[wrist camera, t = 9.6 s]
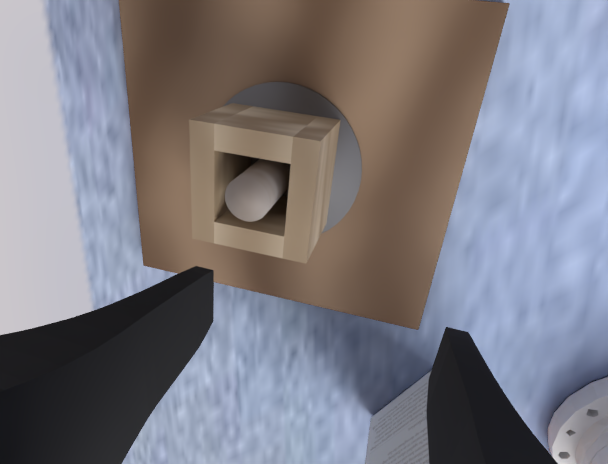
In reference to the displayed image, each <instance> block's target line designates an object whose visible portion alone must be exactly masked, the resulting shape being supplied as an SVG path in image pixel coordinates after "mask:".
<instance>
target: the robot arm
mask: <svg viewBox="0 0 608 464" xmlns="http://www.w3.org/2000/svg"><path fill="white" fill-rule="evenodd" d="M213 288H214V270H211V269H207V268H203V267H199V266H195V267H192V268H190V269H187V270H185V271H183V272H181V273H179V274H177V275H175V276H173V277H171V278H169V279H166V280H164V281H162V282H160V283H158V284H156V285H154V286H152V287H150V288H147V289H145V290H143V291H141V292H139V293H136V294H134V295H132V296H129V297H127V298H125V299H122V300H120V301H117V302H115V303H113V304H110V305H108V306H105V307H102V308H100V309H97V310H94V311H91V312H88V313H85V314H82V315H80V316H76V317H74V318H70V319H67V320H63V321H59V322H56V323H51V324H48V325H44V326H40V327H36V328H33V329H28V330H24V331H19V332H14V333H9V334H4V335H0V464H122V462H123V460H124V458H125V457H126V455H127V453H128V451H129V450H130V448H131V446H132V444H133V443H134V441H135V439H136V437H137V436H138V434H139V432H140V431H141V429H142V427H143V426H144V424H145V422H146V421H147V419H148V417H149V416H150V414H151V413H152V411H153V410H154V408H155V407H156V405H157V404H158V403H159V401H160V400H161V398H162V397H163V396H164V394H165V393H166V392H167V390H168V389H169V388H170V386H171V385H172V384H173V382H174V381H175V380H176V378H177V377H178V376H179V374H180V373H181V372H182V370H183V369H184V367H185V366H186V365H187V363H188V362H189V361H190V359H191V358H192V356H193V355H194V354H195V352H196V351H197V349H198V348H199V346H200V345H201V343H202V341H203V339H204V338H205V336H206V334H207V332H208V330H209V328H210V326H211V324H212V323H213ZM426 412H427V432H428V449H429V464H558V463H557V462H556V461H555V460H554V458H553V457H552V456H551V455H550V454H549V453H548V451H547V450H546V449H545V448H544V446H543V445H542V444H541V443H540V442H539V440H538V439H537V438H536V437H535V436H534V434H533V433H532V432H531V430H530V429H529V428H528V427H527V425H526V424H525V423H524V421H523V420H522V418H521V417H520V416H519V414H518V413H517V411H516V410H515V409H514V407H513V406H512V404H511V403H510V401H509V400H508V398H507V397H506V395H505V394H504V392H503V390H502V389H501V387H500V386H499V384H498V383H497V381H496V379H495V378H494V376H493V374H492V373H491V371H490V369H489V368H488V366H487V364H486V363H485V361H484V359H483V357H482V356H481V354H480V352H479V350H478V348H477V347H476V345H475V343H474V341H473V339H472V338H471V336H470V334H469V333H468V332H465V331H461V330H456V329H452V328H448V327H446V329H445V332H444V335H443V338H442V341H441V344H440V347H439V350H438V353H437V356H436V359H435V362H434V365H433V368H432V371H431V374H430V377H429V381H428V395H427V411H426Z"/></svg>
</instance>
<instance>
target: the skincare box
mask: <svg viewBox="0 0 608 464" xmlns="http://www.w3.org/2000/svg"><path fill="white" fill-rule="evenodd" d="M431 371H432V370H431ZM431 371H430V372H428V373H427V374H426V375H425V376H423V377H422V378H421V379H420V380H418V381H417V382H416V383H415V384H413V385H412V386H411V387H410V388H408V389H407V390H406V391H404V392H403V393H402V394H401V395H399V396H398V397H397V398H395V399H394V400H393V401H392V402H390V403H389V404H388V405H387V406H385V407H384V408H383V409H381V410H380V411H379V412H378V413H376V414H375V415H374V416H372V417H371V420H370V428H369V436H368V444H367V452H366V460H365V464H429V449H428V432H427V412H426V411H427V395H428V381H429V377H430V374H431Z"/></svg>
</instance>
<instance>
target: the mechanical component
mask: <svg viewBox="0 0 608 464" xmlns="http://www.w3.org/2000/svg"><path fill="white" fill-rule="evenodd" d="M548 446H549V449H550V452H551V456H552V457H553V458H554V460H555V461H556V462H557V463H558V464H608V377H606V378H603V379H600V380H597V381H594V382H591V383H590V384H588V385H587V386H585V387H583V388H582V389H580V390H579V391H577V392H575V393H574V394H572V395H570V396H569V397H568V398H567V399H566V400H565V401H564V402H563V403H562V404H561V406H560V407H559V408H558V409H557V410H556V411H555V412H554V415H553V417H552V419H551V422H550V424H549V427H548Z"/></svg>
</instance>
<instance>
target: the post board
mask: <svg viewBox="0 0 608 464" xmlns="http://www.w3.org/2000/svg"><path fill="white" fill-rule="evenodd" d="M509 4H510V3H500V2H489V1H478V0H119V8H120V19H121V29H122V40H123V51H124V62H125V72H126V83H127V94H128V104H129V115H130V126H131V137H132V147H133V158H134V169H135V179H136V190H137V201H138V212H139V222H140V233H141V244H142V254H143V265H144V266H148V267H153V268H157V269H161V270H165V271H170V272H174V273H178V274H179V273H181V272H183V271H185V270H187V269H190V268H192V267H195V266H199V267H203V268H207V269H211V270H214V282H216V283H221V284H225V285H229V286H233V287H238V288H242V289H246V290H250V291H255V292H259V293H263V294H267V295H272V296H276V297H280V298H284V299H289V300H293V301H297V302H301V303H306V304H310V305H314V306H318V307H323V308H327V309H331V310H335V311H340V312H344V313H348V314H352V315H357V316H361V317H365V318H369V319H374V320H378V321H382V322H386V323H391V324H395V325H399V326H403V327H408V328H412V329H416V330H418V329H419V326H420V322H421V318H422V315H423V311H424V308H425V304H426V301H427V297H428V293H429V290H430V286H431V283H432V279H433V275H434V272H435V268H436V265H437V261H438V258H439V254H440V250H441V247H442V243H443V240H444V236H445V233H446V229H447V225H448V222H449V218H450V215H451V211H452V208H453V204H454V200H455V197H456V193H457V190H458V186H459V183H460V179H461V175H462V172H463V168H464V165H465V161H466V158H467V154H468V150H469V147H470V143H471V140H472V136H473V133H474V129H475V125H476V122H477V118H478V115H479V111H480V108H481V104H482V100H483V97H484V93H485V90H486V86H487V82H488V79H489V75H490V72H491V68H492V65H493V61H494V57H495V54H496V50H497V47H498V43H499V40H500V36H501V32H502V29H503V25H504V22H505V18H506V15H507V11H508V7H509ZM231 103H235V104H241V105H248V106H254V107H261V108H267V109H274V110H280V111H287V112H293V113H300V114H306V115H313V116H319V117H326V118H332V119H339V120H341V121H340V128H339V135H338V143H337V150H336V157H335V164H334V172H333V179H332V186H331V194H330V201H329V208H328V215H327V223H326V225H325V227H324V229H323V231H322V233H321V235H320V237H319V239H318V241H317V243H316V245H315V247H314V249H313V251H312V253H311V255H310V257H309V259H308V261H307V263H306V264H305V263H301V262H296V261H292V260H287V259H283V258H278V257H274V256H269V255H265V254H260V253H255V252H251V251H246V250H242V249H237V248H233V247H228V246H224V245H219V244H215V243H210V242H206V241H201V240H197V239H192V209H191V171H190V133H189V119H192V118H195V117H197V116H200V115H202V114H205V113H208V112H210V111H213V110H216V109H218V108H221V107H223V106H226V105H229V104H231ZM290 166H291V164H288V163H282V162H277V161H271V160H265V159H260V158H254V157H251V166H250V167H249V168H248V169H247V170H245V171H244V172H243V173H241V174H240V175H239V176H238V177H236V178H235V179H234V180H232V181H231V182H230V183H229V184H228V186H227V188H226V191H225V202H226V205H227V207H228V209H229V210H230V211H231V213H232V214H233V215H234V216H236V217H237V218H239V219H241V220H243V221H248V222H253V221H257V220H260V219H261V218H263V217H264V216H265V215H266V213H267V212H268V211H269V210H270V209H271V208H272V206H273V205H274V204H275V203H276V202H277V201H278V199H279V198H280V197H281V196H286V197H288V189H289V177H290Z"/></svg>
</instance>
